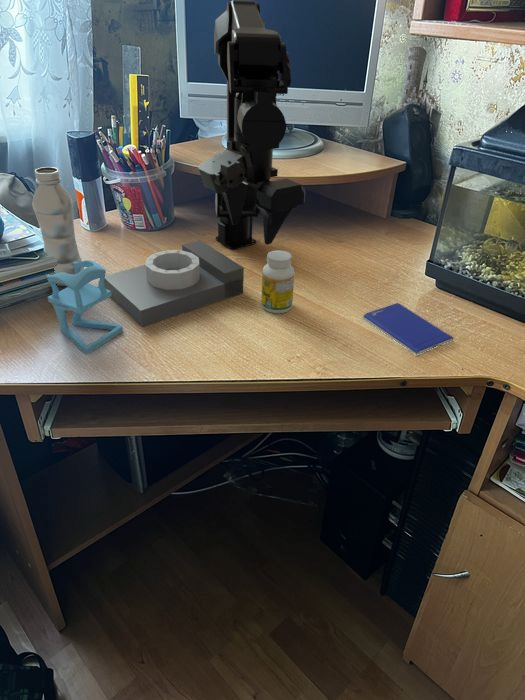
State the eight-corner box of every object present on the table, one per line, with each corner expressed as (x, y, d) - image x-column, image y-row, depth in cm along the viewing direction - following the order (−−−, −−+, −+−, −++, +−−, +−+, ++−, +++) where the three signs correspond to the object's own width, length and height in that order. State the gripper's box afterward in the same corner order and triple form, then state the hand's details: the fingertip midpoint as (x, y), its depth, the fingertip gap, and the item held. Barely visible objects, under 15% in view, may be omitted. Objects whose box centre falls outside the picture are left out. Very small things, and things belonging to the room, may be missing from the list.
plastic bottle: (74, 270, 102) (55, 161, 91) (92, 283, 99) (75, 171, 87) (41, 280, 99) (17, 168, 87) (59, 294, 95) (37, 179, 83)
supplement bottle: (296, 312, 93) (300, 260, 87) (266, 316, 92) (268, 264, 86) (285, 297, 97) (289, 247, 92) (257, 300, 96) (259, 249, 90)
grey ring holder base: (200, 263, 107) (200, 235, 103) (243, 292, 98) (243, 262, 94) (104, 291, 96) (100, 260, 93) (142, 326, 87) (138, 293, 84)
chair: (85, 315, 90) (73, 247, 83) (124, 330, 86) (114, 261, 79) (48, 337, 84) (32, 266, 77) (88, 354, 81) (74, 281, 74)
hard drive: (363, 313, 92) (417, 350, 83) (398, 301, 95) (454, 336, 87) (362, 321, 92) (415, 359, 84) (397, 309, 96) (451, 344, 88)
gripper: (173, 124, 81) (178, 224, 90) (244, 154, 69) (242, 267, 78) (235, 117, 87) (234, 212, 96) (311, 144, 75) (302, 250, 83)
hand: (251, 234), depth 88 cm, fingers open, 9 cm apart
